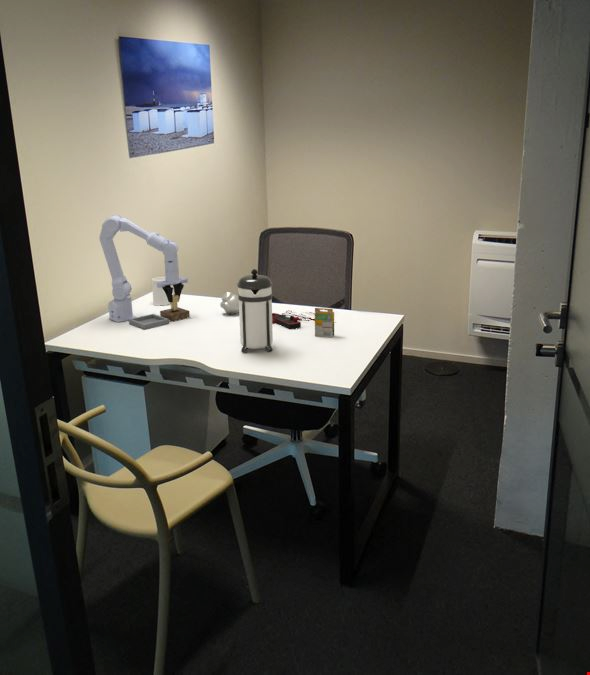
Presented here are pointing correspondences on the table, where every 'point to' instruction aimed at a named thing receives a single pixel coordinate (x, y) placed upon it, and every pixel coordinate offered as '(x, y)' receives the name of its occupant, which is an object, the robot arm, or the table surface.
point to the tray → (149, 321)
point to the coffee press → (255, 311)
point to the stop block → (175, 314)
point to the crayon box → (324, 322)
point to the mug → (159, 292)
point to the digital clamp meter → (288, 320)
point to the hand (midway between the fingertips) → (173, 301)
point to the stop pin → (174, 302)
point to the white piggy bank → (230, 303)
